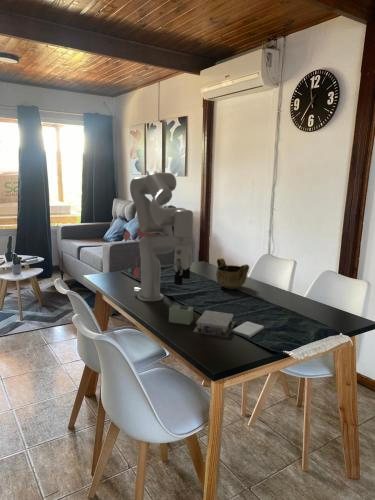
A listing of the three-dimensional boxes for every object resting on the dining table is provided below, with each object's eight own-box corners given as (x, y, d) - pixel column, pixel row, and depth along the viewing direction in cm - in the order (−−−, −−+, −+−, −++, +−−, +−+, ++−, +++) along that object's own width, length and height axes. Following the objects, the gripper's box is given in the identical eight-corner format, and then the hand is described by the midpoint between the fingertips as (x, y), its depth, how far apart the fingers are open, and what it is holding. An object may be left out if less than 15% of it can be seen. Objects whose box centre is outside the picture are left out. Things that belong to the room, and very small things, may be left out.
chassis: (192, 332, 145) (193, 322, 144) (203, 317, 160) (204, 309, 159) (227, 337, 141) (228, 327, 140) (235, 322, 156) (236, 313, 155)
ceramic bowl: (256, 290, 202) (258, 263, 199) (233, 295, 191) (235, 267, 189) (228, 280, 219) (229, 255, 216) (206, 285, 209) (207, 259, 206)
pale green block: (168, 322, 155) (169, 307, 154) (172, 317, 160) (173, 303, 158) (189, 325, 152) (189, 309, 151) (192, 320, 157) (193, 306, 156)
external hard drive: (230, 333, 146) (246, 324, 156) (249, 339, 141) (264, 329, 151) (231, 329, 146) (246, 320, 156) (249, 335, 141) (264, 325, 151)
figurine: (120, 278, 218) (121, 219, 210) (159, 273, 231) (161, 217, 224) (131, 285, 205) (131, 222, 198) (171, 279, 219) (173, 221, 211)
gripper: (185, 244, 140) (184, 288, 143) (198, 238, 156) (197, 277, 159) (166, 243, 142) (166, 286, 145) (181, 236, 158) (180, 275, 161)
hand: (182, 281), depth 152 cm, fingers open, 9 cm apart
